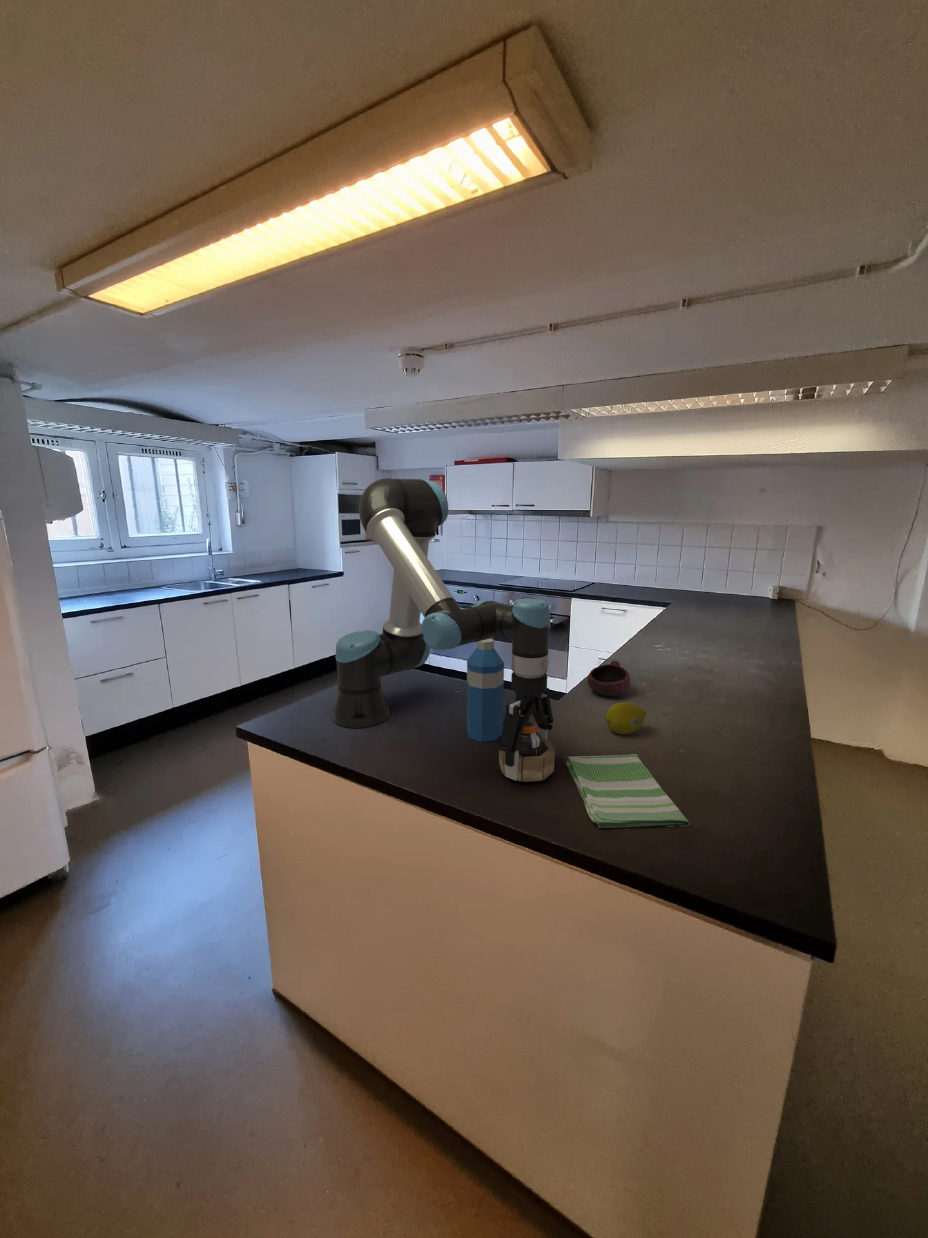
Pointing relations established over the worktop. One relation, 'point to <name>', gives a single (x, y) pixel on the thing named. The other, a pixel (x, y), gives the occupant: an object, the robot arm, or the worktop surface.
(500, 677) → the water bottle
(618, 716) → the lemon
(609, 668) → the bowl
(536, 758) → the ring
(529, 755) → the pill bottle
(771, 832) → the worktop surface
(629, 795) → the dish towel
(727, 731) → the worktop surface
